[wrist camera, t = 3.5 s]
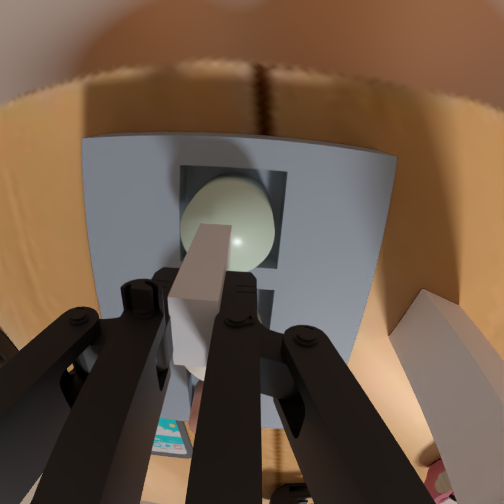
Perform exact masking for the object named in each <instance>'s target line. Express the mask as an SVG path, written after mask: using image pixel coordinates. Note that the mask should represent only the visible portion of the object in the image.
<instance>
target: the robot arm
mask: <svg viewBox="0 0 504 504" xmlns="http://www.w3.org/2000/svg"><path fill="white" fill-rule="evenodd" d="M231 237H232V225H221V224H204V223H200V226H199V228H198V230H197V232H196V234H195V236H194V239H193V241H192V243H191V245H190V247H189V249H188V252H187V254H186V256H185V258H184V261H183V263H182V265H181V267H180V268H170V267H162V268H161V269H159V270H158V271H156V272H155V273H154V275H153V277H152V279H135V280H131V281H129V282H126V283H124V284H123V285H122V286H121V287H120V289H121V296H122V303H123V309H124V311H123V312H122V314H121V316H120V317H117V318H109V319H99V315H98V313H97V311H96V310H94V309H92V308H90V307H76V308H72V309H70V310H68V311H66V312H65V313H63V314H62V315H61V316H60V317H59V318H57V319H56V320H55V321H54V322H53V323H51V324H50V325H49V326H48V327H47V328H45V329H44V330H43V331H42V332H41V333H40V334H38V335H37V336H36V337H35V338H34V339H33V340H31V341H30V342H29V343H28V344H27V345H26V346H25V347H23V348H22V349H21V350H20V351H19V352H18V351H17V350H16V348H15V347H14V346H13V344H12V343H11V342H10V341H9V340H8V339H7V338H6V337H5V335H4V334H3V333H2V332H1V331H0V504H20V502H21V501H22V500H23V498H24V497H25V496H26V494H27V493H28V492H29V490H30V489H31V488H32V486H33V485H34V484H35V482H36V481H37V480H38V478H39V477H40V475H41V474H42V473H43V474H42V477H41V479H40V482H39V484H38V487H37V489H36V492H35V494H34V497H33V499H32V501H31V503H30V504H140V500H141V495H142V491H143V486H144V482H145V477H146V473H147V469H148V464H149V460H150V456H151V451H152V447H153V443H154V439H155V435H156V431H157V427H158V423H159V419H160V415H161V411H162V407H163V403H164V399H165V395H166V392H167V388H168V384H169V380H170V377H171V368H170V361H171V358H172V354H173V362H174V364H175V365H184V366H194V367H204V368H206V371H205V377H204V383H203V389H202V395H201V401H200V408H199V414H198V420H197V426H196V433H195V439H194V446H193V453H192V459H191V466H190V473H189V480H188V487H187V494H186V501H185V504H262V450H261V394H264V395H267V396H271V397H273V402H274V404H275V407H276V410H277V412H278V415H279V417H280V420H281V422H282V425H283V428H284V430H285V433H286V435H287V438H288V440H289V443H290V445H291V448H292V450H293V453H294V455H295V458H296V460H297V463H298V465H299V468H300V470H301V473H302V475H303V478H304V480H305V482H306V485H307V487H308V490H309V492H310V495H311V497H312V499H313V502H314V504H436V502H435V501H434V499H433V498H432V496H431V495H430V493H429V491H428V490H427V488H426V487H425V485H424V483H423V482H422V480H421V479H420V477H419V476H418V474H417V472H416V471H415V469H414V468H413V466H412V465H411V463H410V461H409V460H408V458H407V457H406V455H405V454H404V452H403V450H402V449H401V447H400V446H399V444H398V443H397V441H396V440H395V438H394V437H393V435H392V433H391V432H390V430H389V429H388V427H387V426H386V424H385V423H384V421H383V420H382V418H381V416H380V415H379V413H378V412H377V410H376V409H375V407H374V406H373V404H372V403H371V401H370V400H369V398H368V397H367V395H366V393H365V392H364V390H363V389H362V387H361V386H360V384H359V383H358V381H357V380H356V378H355V377H354V375H353V374H352V372H351V371H350V369H349V368H348V366H347V365H346V363H345V362H344V360H343V359H342V357H341V356H340V354H339V353H338V351H337V350H336V348H335V347H334V345H333V344H332V342H331V341H330V339H329V338H328V336H327V335H326V334H325V333H324V332H323V331H322V330H320V329H318V328H316V327H314V326H309V325H295V326H291V327H290V328H288V329H287V330H285V332H284V334H283V333H279V332H275V331H273V330H270V329H268V328H266V327H265V326H263V325H262V324H261V323H260V321H259V320H258V316H257V279H256V277H255V276H254V275H253V274H252V272H240V271H230V258H231ZM72 363H73V366H74V368H73V369H72V370H71V371H70V372H68V371H67V368H68V367H69V366H70V365H71V364H72Z"/></svg>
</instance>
